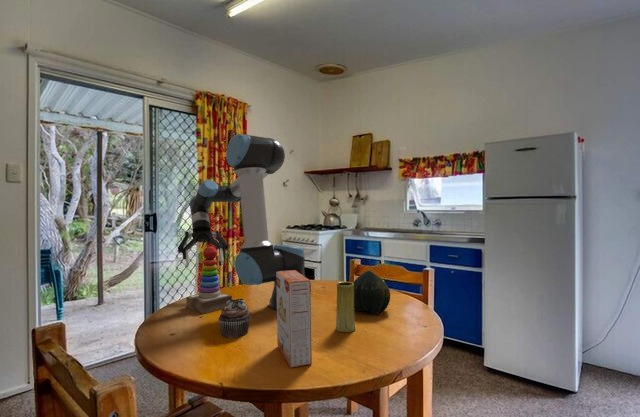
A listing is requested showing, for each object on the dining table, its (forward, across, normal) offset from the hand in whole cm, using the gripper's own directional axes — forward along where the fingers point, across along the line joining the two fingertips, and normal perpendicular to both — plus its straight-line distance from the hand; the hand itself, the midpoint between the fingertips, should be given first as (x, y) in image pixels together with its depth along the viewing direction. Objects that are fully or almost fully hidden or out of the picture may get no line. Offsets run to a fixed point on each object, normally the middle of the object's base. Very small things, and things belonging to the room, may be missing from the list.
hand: (205, 263), depth 144 cm
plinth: (+18, 0, -3) cm, 18 cm away
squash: (+39, -52, +18) cm, 68 cm away
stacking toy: (+15, 0, 0) cm, 15 cm away
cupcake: (+40, -4, +19) cm, 44 cm away
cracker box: (+56, -14, +35) cm, 67 cm away
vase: (+48, -35, +27) cm, 66 cm away
